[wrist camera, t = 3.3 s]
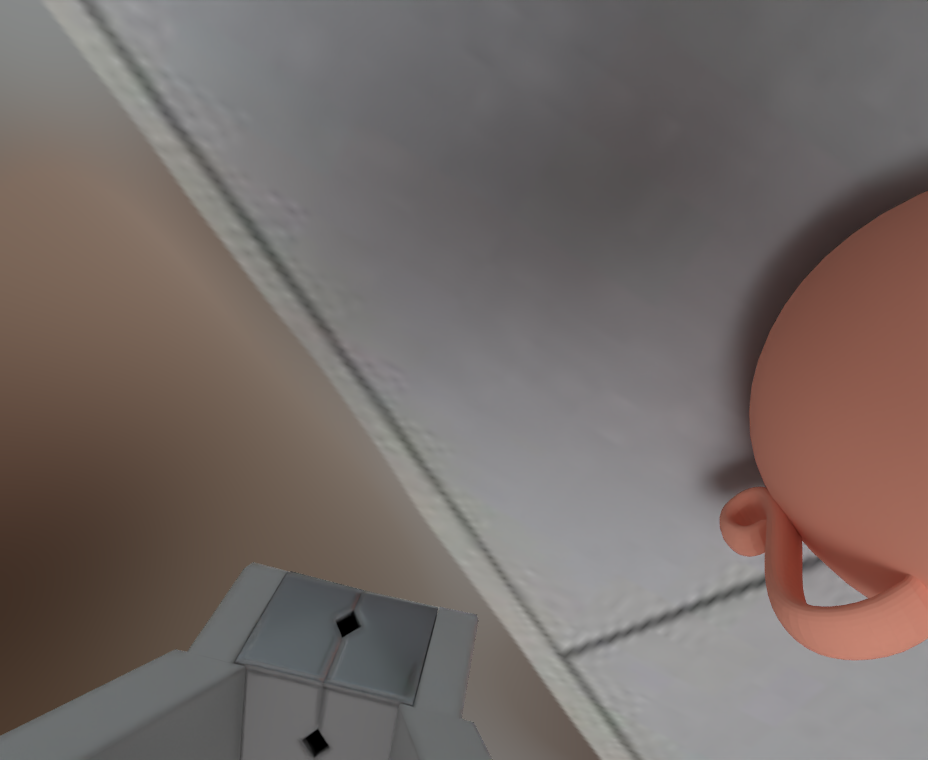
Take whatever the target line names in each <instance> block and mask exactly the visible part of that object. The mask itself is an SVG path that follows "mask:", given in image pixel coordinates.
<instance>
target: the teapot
mask: <svg viewBox="0 0 928 760" xmlns="http://www.w3.org/2000/svg"><path fill="white" fill-rule="evenodd" d="M749 420H750V437H751V442H752V447H753V452H754V457H755V461H756V464H757V466H758V469H759V471H760V474H761V477H762V479H763V482H764V484H765V486H766V487H753V488H749V489H746V490H744V491H742V492H740V493H739V494H737V495H736V496H735V497H733V498H732V499H731V500H730V501H729V502H728V503H727V504H726V505H725V506H724V507H723V509H722V511H721V514H720V529H721V532H722V535H723V538H724V540H725V542H726V543H727V544H728V545H729V547H730V548H731V549H732V550H733V551H735V552H736V553H738V554H740V555H743V556H749V557H750V556H757V555H760V554H762V553H764V552H765V579H766V586H767V592H768V596H769V599H770V602H771V605H772V608H773V610H774V612H775V614H776V616H777V618H778V619H779V621H780V622H781V624H782V625H783V627H784V628H785V629H786V631H787V632H788V633H789V634H790V635H791V636H792V637H793V638H794V639H795V640H796V641H798V642H799V643H800V644H802V645H803V646H804V647H806V648H808V649H809V650H811V651H814V652H816V653H818V654H820V655H824V656H827V657H831V658H837V659H843V660H869V659H876V658H882V657H888V656H891V655H894V654H897V653H901V652H904V651H906V650H908V649H910V648H912V647H914V646H916V645H918V644H920V643H921V642H923V641H924V640H926V639H927V638H928V191H926V192H923V193H921V194H919V195H917V196H915V197H913V198H911V199H909V200H907V201H906V202H904V203H902V204H900V205H898V206H896V207H894V208H892V209H890V210H888V211H887V212H885V213H883V214H881V215H880V216H878V217H877V218H875V219H874V220H872V221H871V222H869V223H868V224H866V225H865V226H863V227H862V228H860V229H859V230H857V231H856V232H854V233H853V234H852V235H850V236H849V237H848V238H847V239H846V240H844V241H843V242H842V243H841V244H840V245H839V246H837V247H836V248H835V249H834V250H833V251H831V252H830V253H829V254H828V255H827V256H826V257H825V258H824V259H823V260H822V261H821V262H820V263H819V264H818V265H817V266H816V267H815V268H814V269H813V270H812V271H811V272H810V273H809V274H808V276H807V277H806V278H805V279H804V280H803V281H802V282H801V284H800V285H799V286H798V288H797V289H796V290H795V292H794V293H793V294H792V296H791V297H790V298H789V300H788V301H787V302H786V304H785V305H784V307H783V309H782V311H781V312H780V314H779V316H778V318H777V319H776V321H775V323H774V325H773V326H772V328H771V330H770V332H769V335H768V337H767V340H766V342H765V345H764V347H763V349H762V352H761V354H760V357H759V360H758V363H757V367H756V371H755V375H754V379H753V383H752V389H751V398H750V407H749ZM802 541H803V542H804V543H805V544H806V545H807V546H808V548H809V549H810V550H811V551H812V552H813V553H814V554H815V555H816V556H817V557H818V558H820V559H821V560H822V561H823V562H824V563H825V564H826V565H827V566H828V567H829V568H830V569H831V570H833V571H834V572H835V573H836V574H837V575H838V576H839V577H840V578H842V579H843V580H844V581H845V582H846V583H847V584H849V585H850V586H852V587H853V588H854V589H856V590H857V591H859V592H860V593H862V594H863V595H865V596H866V597H867V598H868V599H865V600H862V601H860V602H856V603H852V604H847V605H841V606H832V607H820V606H812V605H808V604H807V603H806V600H805V597H804V592H803V580H802Z"/></svg>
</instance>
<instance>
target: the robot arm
mask: <svg viewBox="0 0 928 760" xmlns="http://www.w3.org/2000/svg"><path fill="white" fill-rule="evenodd" d="M437 612H438V613H437ZM477 626H478V618H477V615H476V614H471V613H466V612H462V611H457V610H453V609H448V608H443V607H440V608H439V610H438V607H435V606H431V605H427V604H422V603H418V602H413V601H409V600H404V599H400V598H396V597H391V596H387V595H382V594H378V593H374V592H369V591H364V590H361V589H357V588H353V587H349V586H345V585H342V584H338V583H334V582H330V581H326V580H323V579H318V578H315V577H311V576H307V575H303V574H299V573H296V572H292V571H291V572H288V571H285V570H281V569H277V568H273V567H270V566H265V565H262V564H258V563H254V562H253V563H251V564H250V565H249V566H247V567H246V568H244V569H243V571H242V572H241V574H240V575H239V577H238V578H237V579H236V581H235V582H234V584H233V585H232V587H231V588H230V590H229V591H228V593H227V594H226V596H225V597H224V599H223V600H222V601H221V603H220V605H219V606H218V607H217V609H216V610H215V612H214V613H213V615H212V616H211V618H210V619H209V621H208V622H207V623H206V625H205V627H204V628H203V629H202V631H201V632H200V634H199V635H198V637H197V638H196V640H195V641H194V643H193V644H192V645H191V647H190V648H189V650H188V651H187V652H185V651H180V650H176V649H175V650H173V651H171V652H169V653H167V654H165V655H163V656H161V657H159V658H157V659H155V660H153V661H151V662H149V663H147V664H145V665H143V666H141V667H139V668H136V669H135V670H133V671H130V672H128V673H127V674H124V675H122V676H120V677H118V678H116V679H114V680H112V681H110V682H108V683H106V684H104V685H102V686H100V687H98V688H96V689H94V690H92V691H90V692H88V693H86V694H84V695H82V696H80V697H78V698H76V699H74V700H72V701H70V702H68V703H66V704H64V705H62V706H60V707H58V708H56V709H54V710H52V711H50V712H48V713H46V714H44V715H42V716H40V717H38V718H36V719H34V720H32V721H30V722H28V723H26V724H24V725H22V726H19V727H17V728H16V729H13V730H11V731H9V732H7V733H5V734H3V735H1V736H0V760H493V759H492V758H491V756H490V754H489V752H488V750H487V748H486V746H485V744H484V742H483V740H482V738H481V736H480V734H479V732H478V730H477V728H476V726H475V724H474V722H471V721H467V720H464V719H462V714H463V708H464V701H465V696H466V690H467V684H468V678H469V672H470V667H471V661H472V655H473V649H474V642H475V637H476V631H477Z"/></svg>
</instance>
